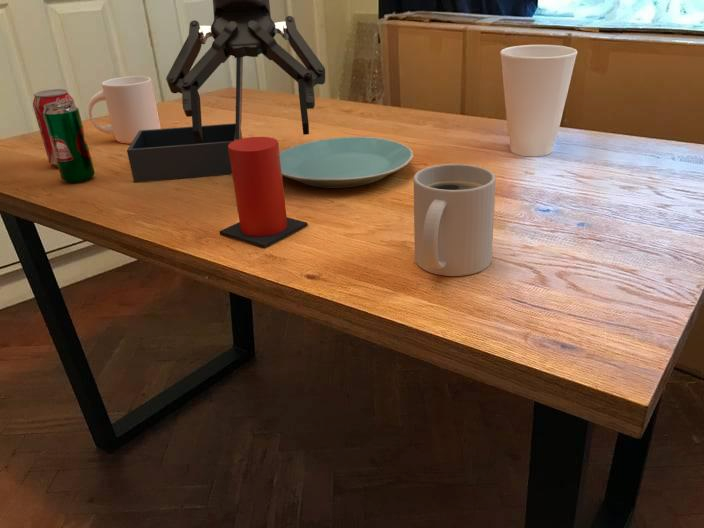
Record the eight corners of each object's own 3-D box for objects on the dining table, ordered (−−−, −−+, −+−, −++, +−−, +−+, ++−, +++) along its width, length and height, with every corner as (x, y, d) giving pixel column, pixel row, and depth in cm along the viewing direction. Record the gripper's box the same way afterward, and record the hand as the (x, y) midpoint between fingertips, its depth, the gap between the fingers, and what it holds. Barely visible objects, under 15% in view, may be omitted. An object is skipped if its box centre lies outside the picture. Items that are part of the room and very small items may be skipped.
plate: (244, 176, 105) (242, 158, 103) (347, 143, 118) (346, 128, 117) (337, 210, 91) (336, 190, 89) (442, 169, 104) (442, 151, 103)
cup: (532, 136, 118) (539, 42, 110) (583, 151, 109) (594, 50, 101) (481, 148, 113) (484, 50, 105) (529, 166, 104) (537, 60, 96)
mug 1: (96, 137, 128) (82, 80, 122) (160, 129, 131) (149, 74, 126) (96, 149, 121) (80, 89, 115) (163, 140, 124) (152, 82, 119)
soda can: (55, 181, 106) (33, 105, 100) (83, 171, 109) (64, 98, 103) (74, 186, 103) (53, 109, 97) (102, 176, 107) (83, 101, 101)
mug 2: (463, 236, 81) (465, 158, 77) (511, 266, 74) (516, 181, 69) (385, 257, 77) (382, 176, 72) (428, 291, 70) (428, 202, 65)
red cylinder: (250, 240, 81) (237, 154, 76) (234, 224, 86) (221, 142, 81) (295, 229, 84) (285, 144, 79) (276, 214, 89) (267, 133, 83)
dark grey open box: (134, 182, 104) (126, 150, 101) (145, 160, 114) (139, 130, 111) (242, 173, 106) (237, 141, 103) (244, 152, 116) (240, 122, 113)
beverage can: (49, 161, 115) (29, 91, 109) (87, 155, 117) (69, 86, 112) (51, 171, 110) (30, 98, 104) (91, 164, 112) (72, 93, 107)
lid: (236, 21, 95) (266, 24, 96) (239, 12, 105) (266, 15, 106) (235, 139, 103) (262, 141, 104) (238, 120, 113) (263, 122, 114)
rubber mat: (219, 234, 85) (219, 231, 84) (263, 214, 90) (263, 210, 90) (264, 248, 80) (264, 244, 80) (307, 225, 86) (307, 222, 86)
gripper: (331, 8, 95) (348, 140, 89) (153, 17, 92) (158, 154, 86) (332, -30, 88) (350, 110, 82) (138, -22, 85) (143, 124, 79)
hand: (252, 133), depth 84 cm, fingers open, 13 cm apart
